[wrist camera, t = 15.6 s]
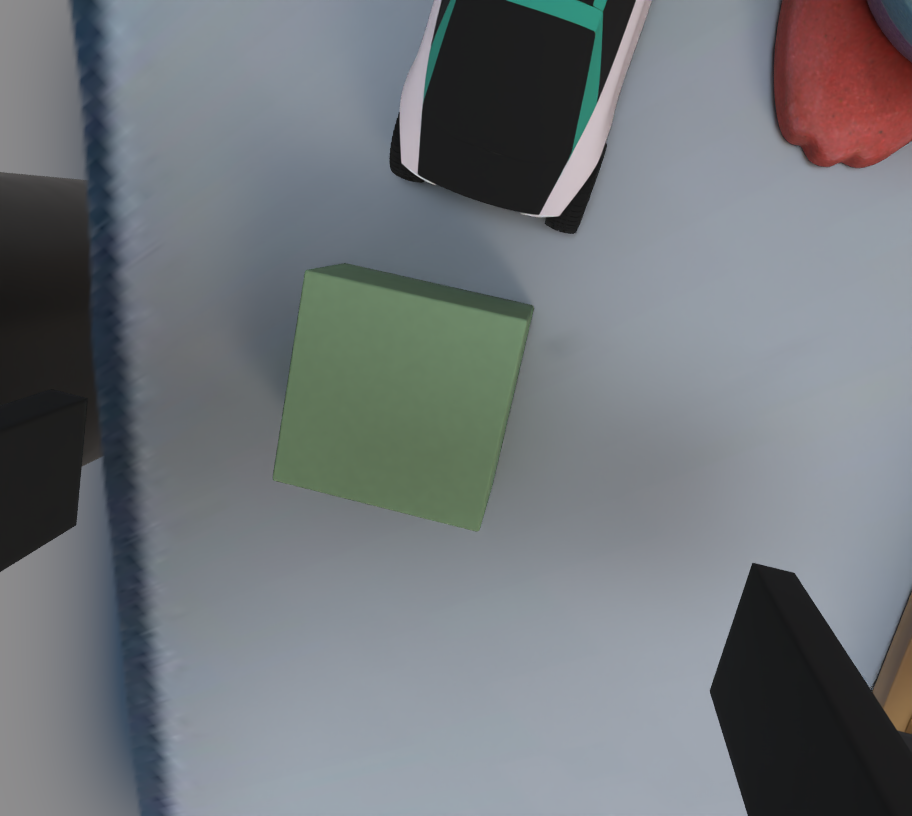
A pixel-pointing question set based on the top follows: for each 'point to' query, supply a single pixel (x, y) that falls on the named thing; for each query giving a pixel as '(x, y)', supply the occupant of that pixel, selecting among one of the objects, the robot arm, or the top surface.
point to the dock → (898, 676)
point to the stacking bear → (844, 78)
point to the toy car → (516, 101)
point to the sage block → (399, 392)
